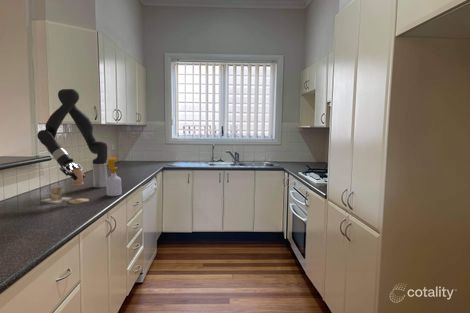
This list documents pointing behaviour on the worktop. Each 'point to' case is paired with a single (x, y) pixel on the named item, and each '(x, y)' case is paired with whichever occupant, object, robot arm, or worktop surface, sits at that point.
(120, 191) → the soap bottle
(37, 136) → the robot arm
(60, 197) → the white display stand
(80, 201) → the mat
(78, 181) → the lidded jar
